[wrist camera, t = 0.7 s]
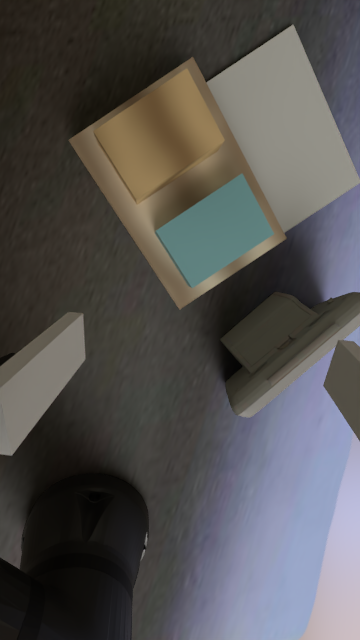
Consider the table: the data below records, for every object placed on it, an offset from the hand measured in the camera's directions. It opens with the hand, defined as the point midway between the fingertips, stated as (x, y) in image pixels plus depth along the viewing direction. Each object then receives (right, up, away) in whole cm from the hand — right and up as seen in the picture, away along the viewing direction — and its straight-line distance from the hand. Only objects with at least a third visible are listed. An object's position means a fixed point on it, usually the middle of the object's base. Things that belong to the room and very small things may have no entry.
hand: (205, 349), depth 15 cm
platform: (-1, +14, +16) cm, 21 cm away
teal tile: (+2, +10, +13) cm, 16 cm away
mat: (+10, +21, +16) cm, 28 cm away
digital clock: (+9, -1, +21) cm, 23 cm away
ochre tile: (-3, +17, +11) cm, 21 cm away
